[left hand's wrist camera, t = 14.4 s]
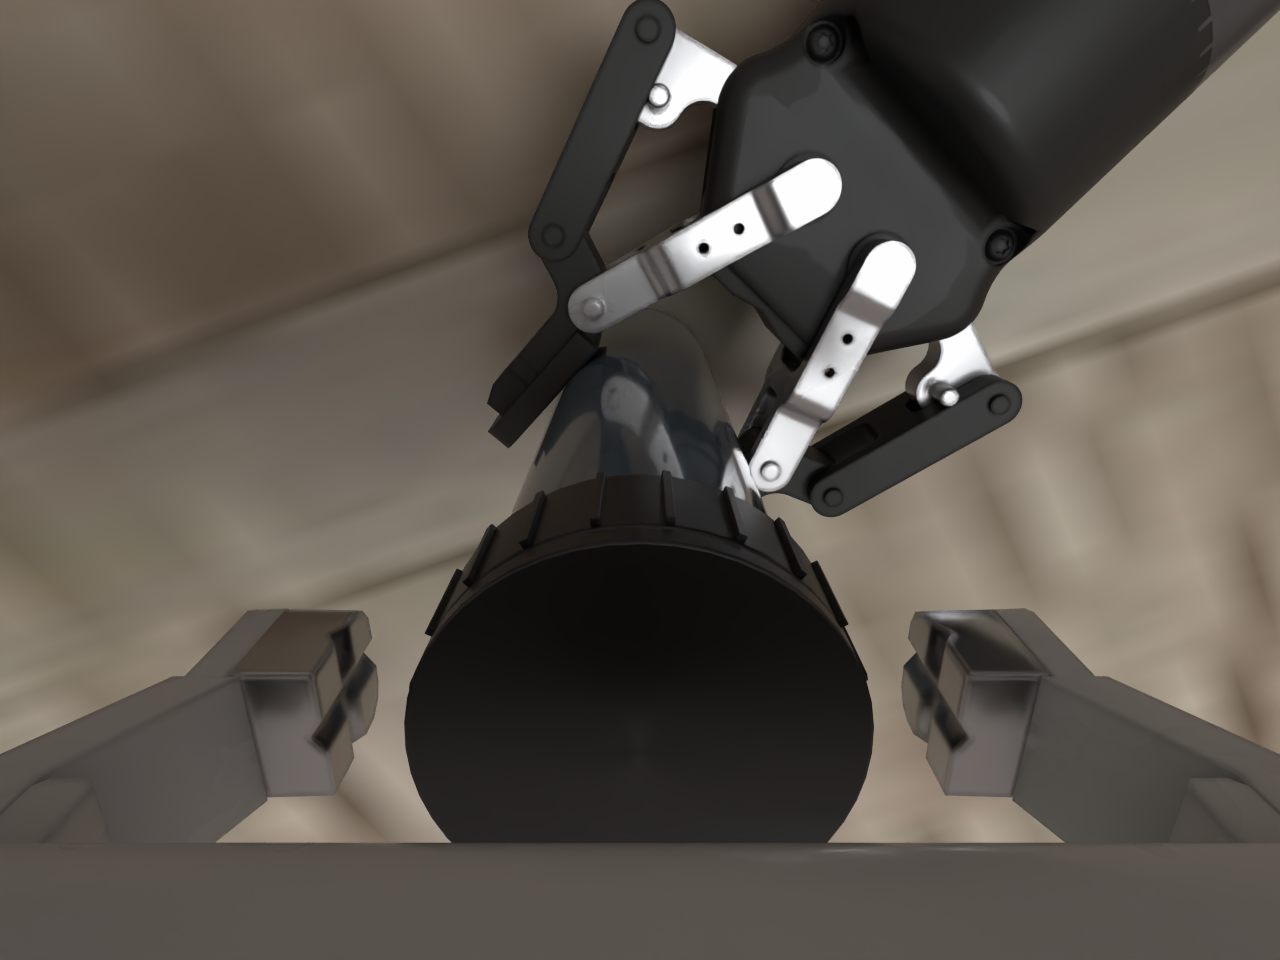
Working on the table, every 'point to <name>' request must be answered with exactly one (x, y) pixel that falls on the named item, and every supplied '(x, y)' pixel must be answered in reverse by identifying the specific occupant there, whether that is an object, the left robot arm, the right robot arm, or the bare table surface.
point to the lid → (639, 677)
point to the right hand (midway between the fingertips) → (578, 491)
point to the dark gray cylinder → (641, 415)
